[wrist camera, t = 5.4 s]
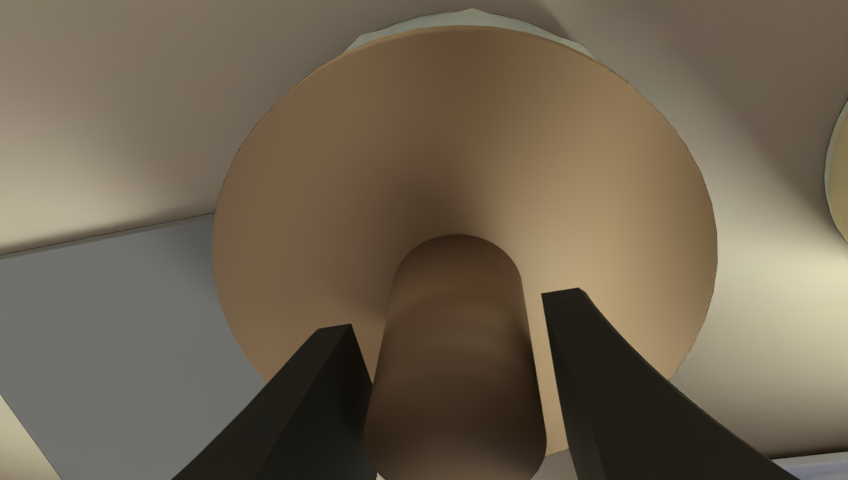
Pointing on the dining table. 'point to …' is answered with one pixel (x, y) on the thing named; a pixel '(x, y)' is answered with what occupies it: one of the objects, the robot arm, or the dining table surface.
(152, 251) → the mat
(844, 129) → the coffee cup
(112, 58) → the dining table surface
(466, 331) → the lid
